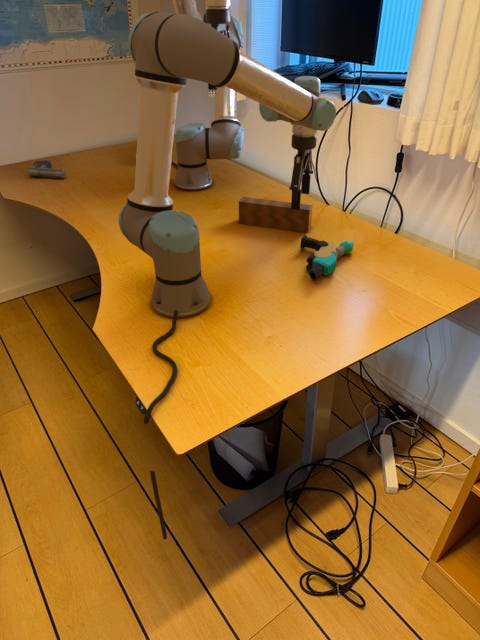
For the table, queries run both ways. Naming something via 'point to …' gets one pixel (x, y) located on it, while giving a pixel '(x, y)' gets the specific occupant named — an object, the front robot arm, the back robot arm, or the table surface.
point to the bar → (274, 214)
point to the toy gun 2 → (323, 255)
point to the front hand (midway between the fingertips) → (300, 201)
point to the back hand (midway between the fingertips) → (220, 85)
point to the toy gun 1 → (45, 170)
